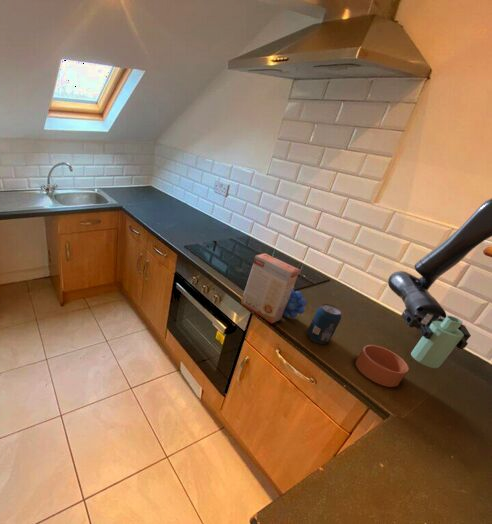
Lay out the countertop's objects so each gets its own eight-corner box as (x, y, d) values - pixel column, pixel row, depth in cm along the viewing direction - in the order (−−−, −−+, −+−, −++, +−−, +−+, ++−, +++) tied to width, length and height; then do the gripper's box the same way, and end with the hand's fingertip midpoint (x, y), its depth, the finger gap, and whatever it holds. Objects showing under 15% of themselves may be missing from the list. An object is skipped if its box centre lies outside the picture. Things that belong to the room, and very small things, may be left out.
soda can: (314, 329, 105) (327, 300, 100) (333, 341, 100) (348, 312, 95) (301, 334, 102) (315, 305, 96) (320, 347, 97) (335, 317, 91)
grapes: (269, 319, 108) (279, 291, 102) (266, 308, 113) (276, 281, 108) (303, 326, 106) (315, 298, 100) (298, 315, 112) (310, 288, 106)
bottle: (420, 350, 86) (448, 310, 79) (444, 366, 81) (477, 326, 74) (405, 352, 84) (432, 312, 78) (429, 369, 79) (460, 328, 72)
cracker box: (281, 320, 108) (301, 269, 98) (271, 324, 105) (291, 272, 95) (250, 299, 118) (265, 252, 109) (239, 303, 115) (255, 254, 105)
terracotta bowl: (373, 356, 96) (381, 343, 93) (408, 383, 86) (418, 370, 84) (347, 360, 93) (354, 347, 90) (380, 389, 83) (390, 375, 81)
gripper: (401, 290, 91) (419, 320, 77) (460, 306, 86) (491, 340, 72) (389, 310, 94) (405, 342, 81) (445, 326, 90) (472, 363, 76)
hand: (445, 341), depth 77 cm, fingers closed on bottle, 6 cm apart
